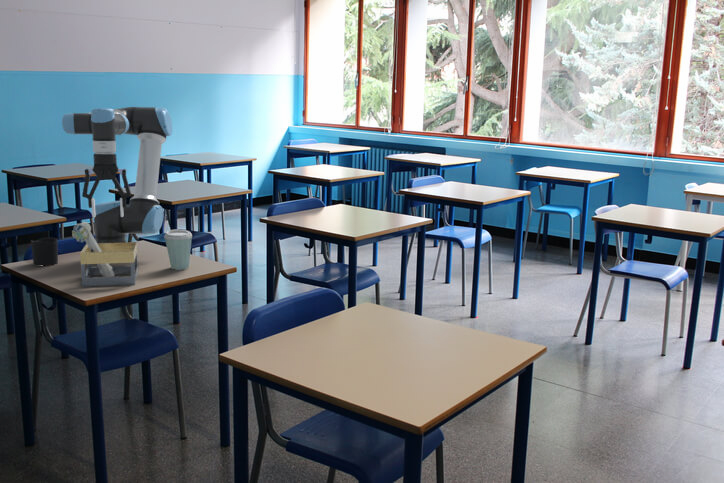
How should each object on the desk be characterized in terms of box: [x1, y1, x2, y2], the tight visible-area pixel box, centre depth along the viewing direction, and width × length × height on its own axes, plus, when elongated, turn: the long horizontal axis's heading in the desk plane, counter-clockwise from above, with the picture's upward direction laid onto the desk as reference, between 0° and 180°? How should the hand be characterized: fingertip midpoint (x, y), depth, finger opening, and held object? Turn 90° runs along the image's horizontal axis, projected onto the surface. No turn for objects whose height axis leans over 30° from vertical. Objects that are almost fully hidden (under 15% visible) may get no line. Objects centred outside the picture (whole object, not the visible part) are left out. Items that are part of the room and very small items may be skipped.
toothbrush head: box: [71, 221, 116, 277], centre depth 235 cm, size 5×7×25 cm
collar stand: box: [79, 241, 139, 288], centre depth 242 cm, size 18×18×12 cm
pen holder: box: [30, 237, 59, 267], centre depth 263 cm, size 9×9×10 cm
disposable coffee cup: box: [163, 229, 193, 271], centre depth 260 cm, size 11×11×15 cm
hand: (108, 216), depth 239 cm, fingers open, 9 cm apart
